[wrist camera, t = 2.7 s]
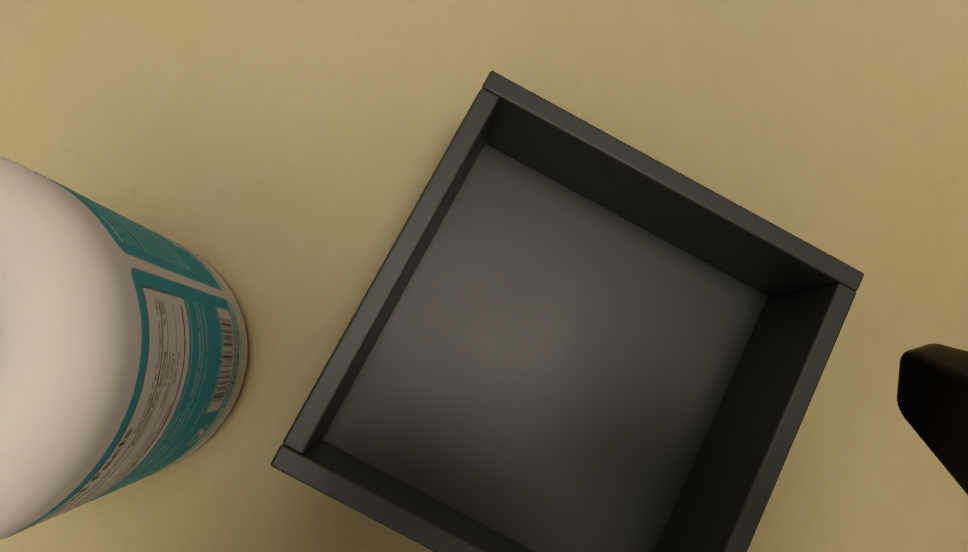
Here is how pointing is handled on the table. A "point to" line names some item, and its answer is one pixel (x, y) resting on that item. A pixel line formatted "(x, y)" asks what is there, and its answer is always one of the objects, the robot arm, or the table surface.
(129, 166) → the table surface
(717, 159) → the table surface
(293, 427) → the dark gray square tray
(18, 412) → the pill bottle
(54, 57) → the table surface
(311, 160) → the table surface
